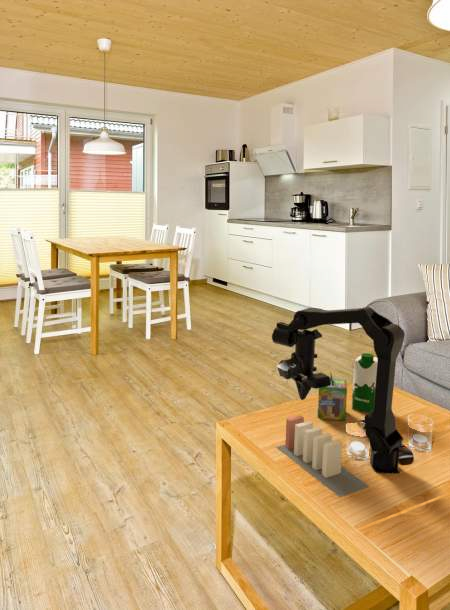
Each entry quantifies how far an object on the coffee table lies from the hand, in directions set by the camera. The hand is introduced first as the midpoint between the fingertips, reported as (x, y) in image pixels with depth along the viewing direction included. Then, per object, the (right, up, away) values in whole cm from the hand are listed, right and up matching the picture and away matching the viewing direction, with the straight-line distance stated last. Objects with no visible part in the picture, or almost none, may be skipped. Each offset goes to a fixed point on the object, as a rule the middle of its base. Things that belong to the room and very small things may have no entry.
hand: (302, 399), depth 153 cm
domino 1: (-3, -13, -5) cm, 14 cm away
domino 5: (+5, -16, -19) cm, 25 cm away
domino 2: (-1, -14, -8) cm, 16 cm away
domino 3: (+1, -15, -12) cm, 19 cm away
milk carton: (+26, -8, +24) cm, 36 cm away
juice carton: (+13, -9, +18) cm, 24 cm away
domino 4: (+3, -15, -15) cm, 22 cm away
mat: (+2, -16, -15) cm, 22 cm away
